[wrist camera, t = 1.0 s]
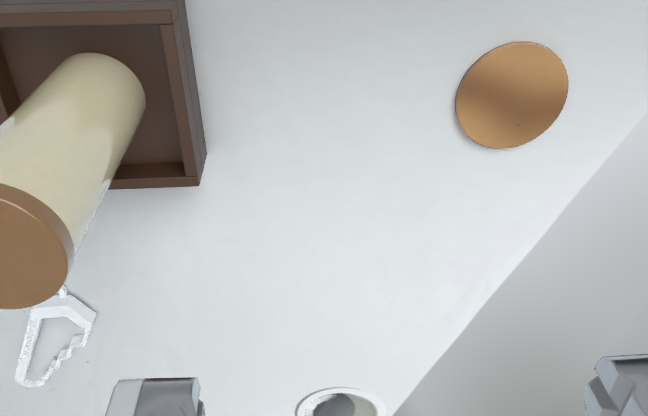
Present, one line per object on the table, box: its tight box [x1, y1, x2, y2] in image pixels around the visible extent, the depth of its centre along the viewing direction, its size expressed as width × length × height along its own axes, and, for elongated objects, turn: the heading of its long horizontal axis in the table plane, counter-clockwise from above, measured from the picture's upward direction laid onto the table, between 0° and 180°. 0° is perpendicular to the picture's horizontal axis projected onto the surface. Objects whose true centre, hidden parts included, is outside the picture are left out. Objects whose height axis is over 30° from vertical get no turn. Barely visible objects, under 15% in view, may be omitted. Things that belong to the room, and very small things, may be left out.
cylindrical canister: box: [0, 52, 146, 309], centre depth 28 cm, size 6×6×16 cm
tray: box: [0, 0, 207, 190], centre depth 35 cm, size 12×12×4 cm
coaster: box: [455, 42, 568, 148], centre depth 39 cm, size 8×8×1 cm
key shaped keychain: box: [14, 285, 96, 388], centre depth 50 cm, size 13×5×2 cm, turn 154°
